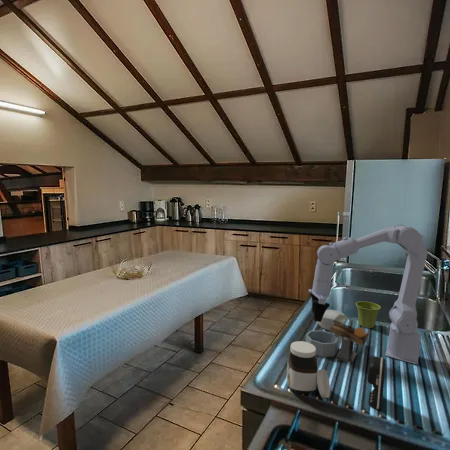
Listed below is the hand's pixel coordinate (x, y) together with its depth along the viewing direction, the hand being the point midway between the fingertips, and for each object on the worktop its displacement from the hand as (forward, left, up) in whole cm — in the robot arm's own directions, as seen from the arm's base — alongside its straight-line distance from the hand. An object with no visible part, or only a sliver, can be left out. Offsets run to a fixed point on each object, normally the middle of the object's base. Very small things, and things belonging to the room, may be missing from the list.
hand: (316, 316), depth 115 cm
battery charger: (-23, +22, -11) cm, 33 cm away
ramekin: (0, -20, -11) cm, 23 cm away
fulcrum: (-11, +2, -10) cm, 16 cm away
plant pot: (-12, -30, -11) cm, 34 cm away
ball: (-15, +2, -1) cm, 15 cm away
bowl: (-3, +2, -10) cm, 11 cm away
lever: (-11, -4, -3) cm, 12 cm away
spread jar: (-7, +27, -11) cm, 30 cm away
